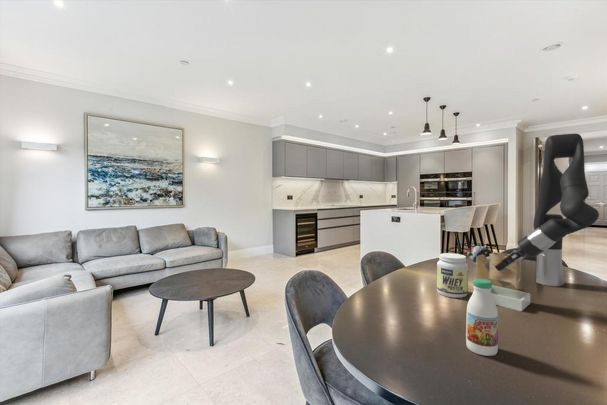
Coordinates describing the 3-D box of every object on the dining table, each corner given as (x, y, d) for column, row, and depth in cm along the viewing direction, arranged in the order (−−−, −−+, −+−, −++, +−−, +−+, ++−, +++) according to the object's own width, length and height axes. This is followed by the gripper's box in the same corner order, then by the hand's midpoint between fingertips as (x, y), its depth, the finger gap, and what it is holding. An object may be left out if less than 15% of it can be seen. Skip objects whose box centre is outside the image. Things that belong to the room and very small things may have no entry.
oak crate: (520, 280, 117) (520, 255, 117) (515, 283, 113) (516, 257, 113) (494, 275, 124) (494, 252, 124) (489, 278, 120) (489, 254, 120)
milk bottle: (460, 343, 88) (461, 276, 87) (484, 341, 89) (485, 275, 88) (477, 357, 80) (478, 285, 80) (504, 356, 81) (505, 284, 80)
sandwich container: (515, 297, 124) (516, 262, 124) (475, 288, 136) (476, 256, 135) (521, 292, 130) (521, 259, 129) (482, 284, 141) (482, 253, 141)
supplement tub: (437, 296, 126) (438, 257, 125) (435, 287, 137) (435, 251, 137) (470, 300, 122) (470, 259, 121) (465, 290, 133) (465, 253, 132)
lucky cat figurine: (482, 269, 167) (469, 246, 172) (472, 272, 178) (460, 250, 183) (506, 261, 168) (493, 238, 172) (494, 264, 179) (483, 243, 184)
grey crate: (530, 303, 117) (530, 293, 117) (521, 311, 110) (521, 300, 110) (489, 293, 129) (489, 284, 128) (478, 300, 121) (478, 290, 121)
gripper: (533, 232, 117) (498, 257, 127) (522, 236, 108) (485, 262, 117) (550, 247, 113) (512, 272, 123) (540, 252, 104) (501, 278, 113)
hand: (499, 267), depth 120 cm, fingers closed on oak crate, 6 cm apart
